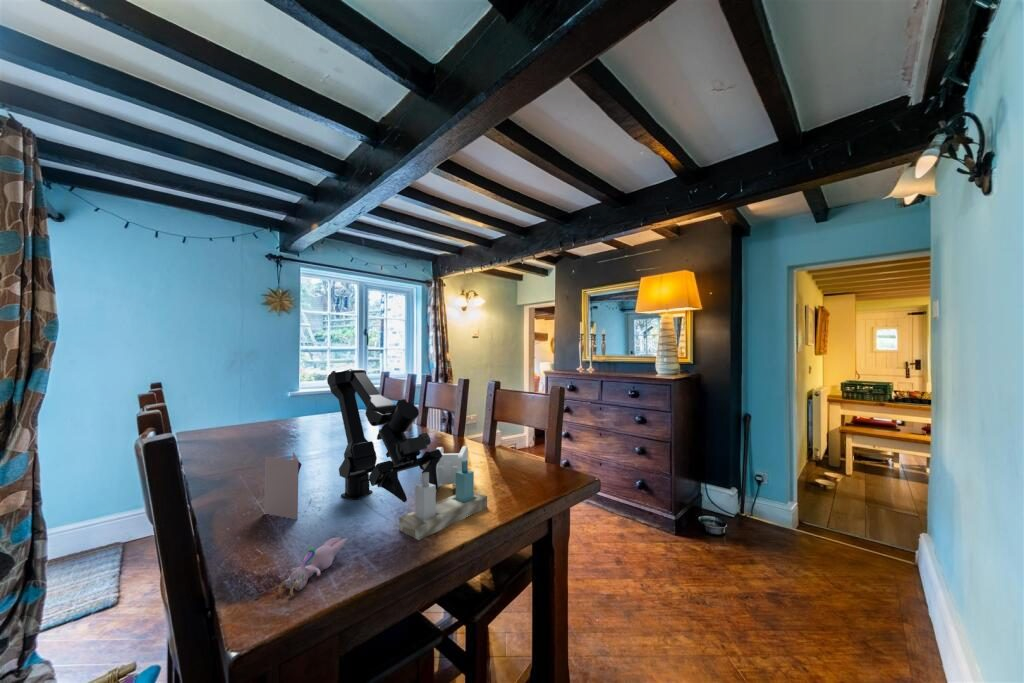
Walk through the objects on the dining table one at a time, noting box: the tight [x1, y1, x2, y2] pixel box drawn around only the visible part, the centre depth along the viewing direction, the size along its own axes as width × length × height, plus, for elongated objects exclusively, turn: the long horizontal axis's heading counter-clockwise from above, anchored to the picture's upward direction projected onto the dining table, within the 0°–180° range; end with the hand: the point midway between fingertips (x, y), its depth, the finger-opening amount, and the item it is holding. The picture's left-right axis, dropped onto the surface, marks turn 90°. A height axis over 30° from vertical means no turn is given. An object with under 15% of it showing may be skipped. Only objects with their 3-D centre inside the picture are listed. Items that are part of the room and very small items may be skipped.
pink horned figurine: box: [277, 537, 348, 597], centre depth 69 cm, size 6×6×15 cm
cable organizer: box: [435, 445, 469, 491], centre depth 114 cm, size 15×11×12 cm
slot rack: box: [398, 491, 488, 541], centre depth 92 cm, size 22×8×3 cm, turn 141°
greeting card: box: [263, 451, 302, 521], centre depth 94 cm, size 11×7×15 cm, turn 37°
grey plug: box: [414, 472, 437, 521], centre depth 87 cm, size 3×3×13 cm
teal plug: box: [455, 459, 475, 503], centre depth 97 cm, size 3×3×13 cm
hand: (421, 495), depth 88 cm, fingers open, 9 cm apart
